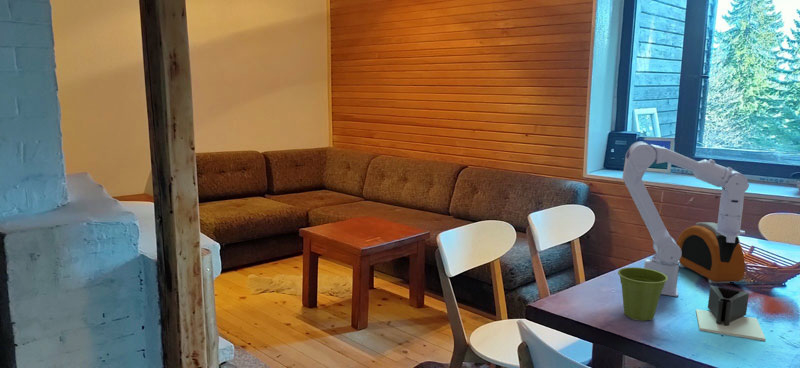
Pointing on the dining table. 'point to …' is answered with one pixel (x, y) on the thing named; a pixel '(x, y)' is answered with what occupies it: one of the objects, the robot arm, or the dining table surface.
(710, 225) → the orange tape measure
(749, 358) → the dining table surface
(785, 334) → the dining table surface
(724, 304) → the phone stand
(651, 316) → the plant pot
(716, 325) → the mat
